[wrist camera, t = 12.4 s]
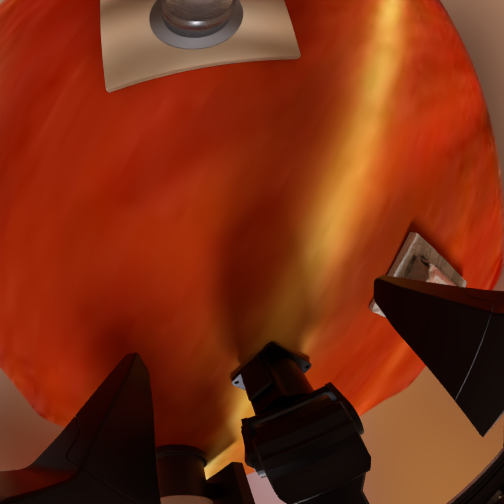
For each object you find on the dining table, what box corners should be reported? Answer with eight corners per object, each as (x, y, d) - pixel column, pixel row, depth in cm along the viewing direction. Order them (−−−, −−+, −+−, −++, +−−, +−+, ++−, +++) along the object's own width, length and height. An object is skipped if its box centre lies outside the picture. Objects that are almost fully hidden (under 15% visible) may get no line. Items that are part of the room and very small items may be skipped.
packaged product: (482, 290, 28) (449, 348, 30) (460, 278, 33) (429, 333, 34) (438, 240, 22) (390, 328, 24) (407, 227, 26) (364, 306, 28)
